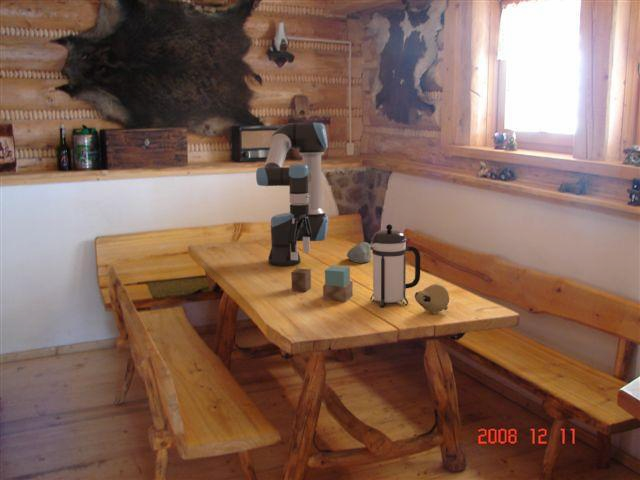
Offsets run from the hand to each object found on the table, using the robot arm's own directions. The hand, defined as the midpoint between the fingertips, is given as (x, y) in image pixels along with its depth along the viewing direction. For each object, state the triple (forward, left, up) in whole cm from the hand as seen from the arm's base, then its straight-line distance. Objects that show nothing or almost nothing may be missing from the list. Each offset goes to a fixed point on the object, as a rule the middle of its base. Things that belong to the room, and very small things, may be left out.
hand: (300, 256), depth 276 cm
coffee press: (+39, -6, -14) cm, 42 cm away
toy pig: (+56, -15, -14) cm, 60 cm away
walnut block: (0, 0, -14) cm, 14 cm away
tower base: (+18, -7, -14) cm, 24 cm away
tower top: (+18, -7, -8) cm, 21 cm away
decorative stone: (+9, +53, -14) cm, 56 cm away
